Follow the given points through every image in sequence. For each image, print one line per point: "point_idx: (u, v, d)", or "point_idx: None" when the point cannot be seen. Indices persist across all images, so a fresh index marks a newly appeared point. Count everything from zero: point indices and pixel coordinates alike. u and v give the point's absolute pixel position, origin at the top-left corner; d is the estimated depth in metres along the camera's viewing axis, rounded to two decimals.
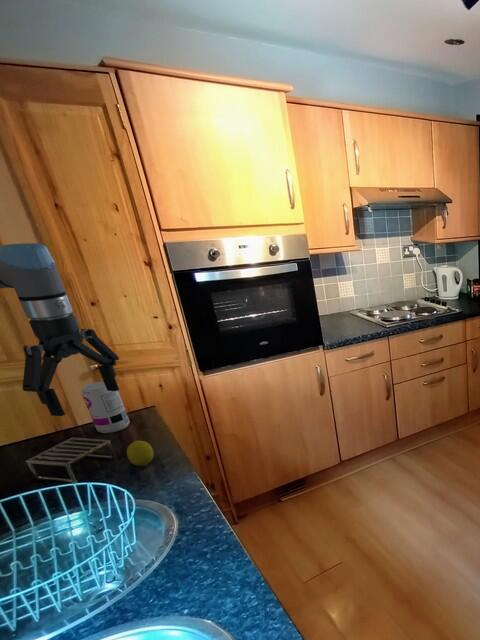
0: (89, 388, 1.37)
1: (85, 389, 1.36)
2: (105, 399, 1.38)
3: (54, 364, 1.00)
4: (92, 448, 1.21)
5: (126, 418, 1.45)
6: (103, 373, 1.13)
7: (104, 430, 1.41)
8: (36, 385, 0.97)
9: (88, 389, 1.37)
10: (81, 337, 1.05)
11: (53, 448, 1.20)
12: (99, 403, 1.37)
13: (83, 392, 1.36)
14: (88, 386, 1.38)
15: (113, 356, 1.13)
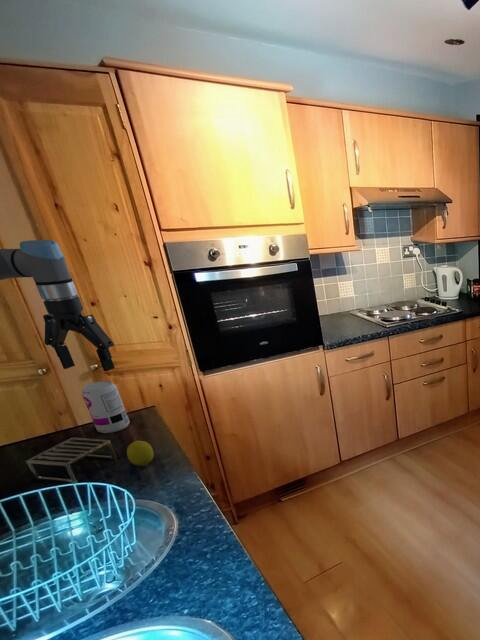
0: (89, 388, 1.37)
1: (85, 389, 1.36)
2: (105, 399, 1.38)
3: None
4: (92, 448, 1.21)
5: (126, 418, 1.45)
6: (62, 353, 1.33)
7: (104, 430, 1.41)
8: None
9: (88, 389, 1.37)
10: None
11: (53, 448, 1.20)
12: (99, 403, 1.37)
13: (83, 392, 1.36)
14: (88, 386, 1.38)
15: None
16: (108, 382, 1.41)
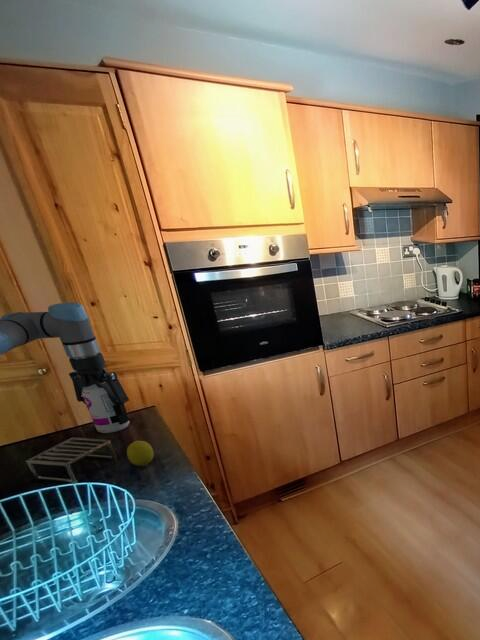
0: (89, 388, 1.37)
1: (85, 389, 1.36)
2: (105, 399, 1.38)
3: None
4: (92, 448, 1.21)
5: None
6: None
7: (104, 430, 1.41)
8: None
9: (88, 389, 1.37)
10: None
11: (53, 448, 1.20)
12: (99, 403, 1.37)
13: (83, 392, 1.36)
14: (88, 386, 1.38)
15: None
16: None
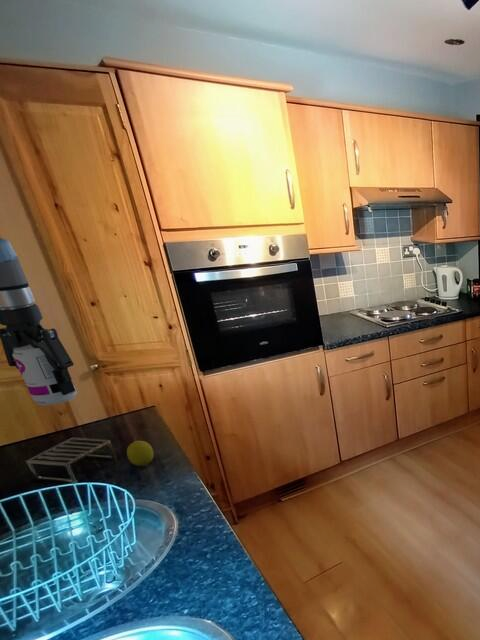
0: (21, 349, 1.10)
1: (16, 349, 1.10)
2: (43, 362, 1.11)
3: None
4: (92, 448, 1.21)
5: None
6: None
7: (43, 401, 1.14)
8: None
9: (20, 349, 1.10)
10: None
11: (53, 448, 1.20)
12: (34, 368, 1.11)
13: (14, 353, 1.09)
14: None
15: None
16: None
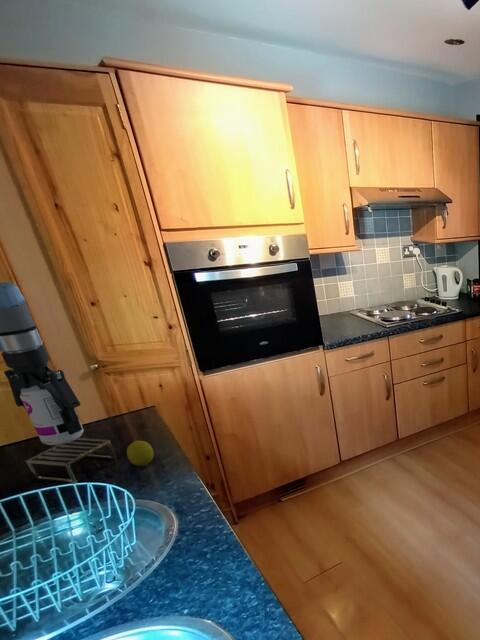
0: (29, 390, 1.10)
1: (24, 391, 1.10)
2: (50, 403, 1.12)
3: None
4: (92, 448, 1.21)
5: None
6: None
7: (50, 441, 1.14)
8: None
9: (27, 391, 1.10)
10: None
11: (53, 448, 1.20)
12: (42, 409, 1.11)
13: (21, 395, 1.10)
14: None
15: None
16: None
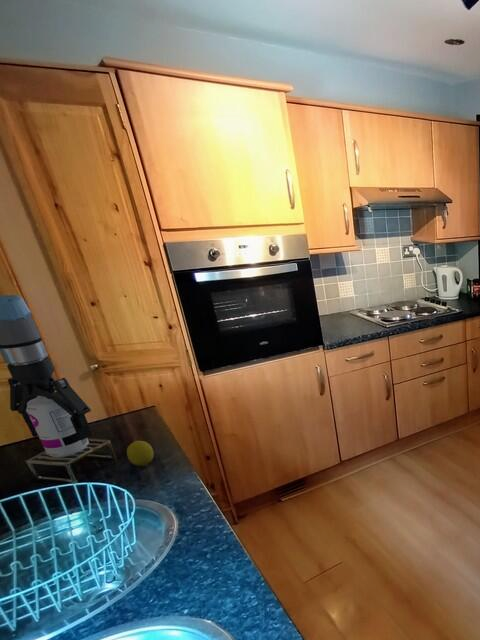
0: (35, 403, 1.12)
1: (30, 404, 1.11)
2: (56, 416, 1.13)
3: None
4: (92, 448, 1.21)
5: None
6: None
7: (55, 454, 1.16)
8: None
9: (34, 404, 1.11)
10: None
11: None
12: (47, 422, 1.12)
13: (28, 408, 1.11)
14: (35, 400, 1.13)
15: None
16: None
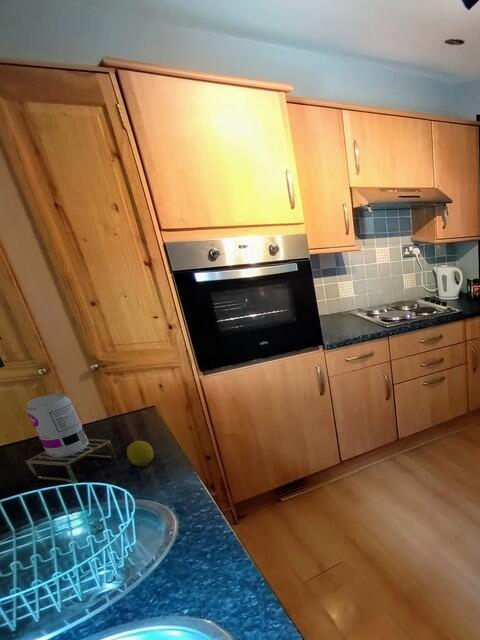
0: (35, 403, 1.12)
1: (30, 404, 1.11)
2: (56, 416, 1.13)
3: None
4: (92, 448, 1.21)
5: (84, 438, 1.20)
6: None
7: (55, 454, 1.16)
8: None
9: (34, 404, 1.11)
10: None
11: None
12: (47, 422, 1.12)
13: (28, 408, 1.11)
14: (35, 400, 1.13)
15: None
16: (60, 395, 1.16)
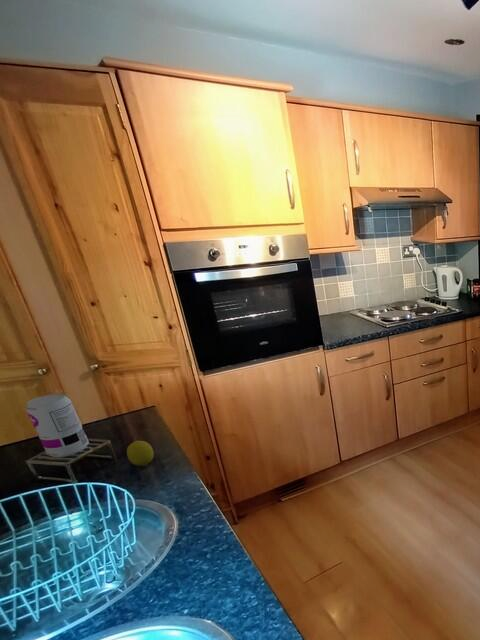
0: (35, 403, 1.12)
1: (30, 404, 1.11)
2: (56, 416, 1.13)
3: None
4: (92, 448, 1.21)
5: (84, 438, 1.20)
6: None
7: (55, 454, 1.16)
8: None
9: (34, 404, 1.11)
10: None
11: None
12: (47, 422, 1.12)
13: (28, 408, 1.11)
14: (35, 400, 1.13)
15: None
16: (60, 395, 1.16)
